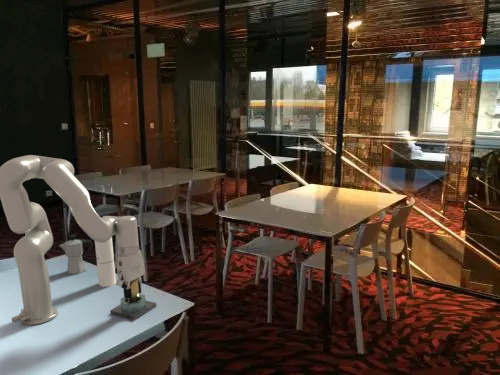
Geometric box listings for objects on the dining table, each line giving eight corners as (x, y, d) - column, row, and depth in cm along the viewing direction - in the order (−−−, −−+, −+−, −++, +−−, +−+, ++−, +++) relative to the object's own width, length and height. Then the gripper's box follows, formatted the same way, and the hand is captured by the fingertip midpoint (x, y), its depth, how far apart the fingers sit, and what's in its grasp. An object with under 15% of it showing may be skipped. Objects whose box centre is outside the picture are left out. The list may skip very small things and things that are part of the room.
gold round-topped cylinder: (133, 303, 160) (131, 283, 158) (124, 301, 162) (122, 281, 160) (142, 298, 164) (140, 279, 162) (133, 296, 166) (131, 277, 164)
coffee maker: (62, 276, 199) (57, 239, 196) (62, 270, 207) (58, 234, 204) (95, 271, 205) (92, 234, 202) (94, 265, 213) (91, 230, 210)
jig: (135, 320, 155) (134, 308, 155) (110, 313, 161) (109, 302, 160) (156, 306, 166) (155, 295, 165) (132, 300, 171) (132, 290, 170)
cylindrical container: (110, 279, 195) (105, 226, 190) (119, 282, 190) (114, 228, 186) (95, 284, 189) (90, 229, 185) (104, 288, 185) (99, 232, 180)
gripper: (119, 257, 150) (124, 306, 153) (151, 243, 165) (155, 288, 168) (104, 255, 153) (109, 302, 157) (136, 241, 168) (140, 285, 171)
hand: (132, 294), depth 162 cm, fingers closed on gold round-topped cylinder, 4 cm apart
